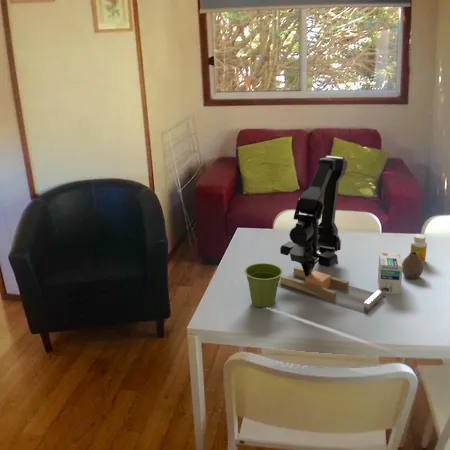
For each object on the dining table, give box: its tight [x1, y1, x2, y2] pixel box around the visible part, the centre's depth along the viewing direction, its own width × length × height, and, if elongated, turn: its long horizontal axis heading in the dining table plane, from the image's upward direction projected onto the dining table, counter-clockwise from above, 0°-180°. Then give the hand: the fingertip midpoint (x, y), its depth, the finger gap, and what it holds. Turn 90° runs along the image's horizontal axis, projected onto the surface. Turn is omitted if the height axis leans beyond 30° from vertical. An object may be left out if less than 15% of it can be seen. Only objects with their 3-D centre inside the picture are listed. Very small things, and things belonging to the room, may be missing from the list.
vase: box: [401, 252, 424, 280], centre depth 184 cm, size 7×7×9 cm
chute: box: [278, 266, 386, 315], centre depth 175 cm, size 14×33×3 cm, turn 52°
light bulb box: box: [377, 252, 403, 295], centre depth 176 cm, size 11×7×11 cm, turn 168°
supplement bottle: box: [409, 233, 428, 264], centre depth 196 cm, size 5×5×10 cm
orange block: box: [305, 270, 332, 288], centre depth 177 cm, size 6×6×4 cm
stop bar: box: [364, 289, 383, 311], centre depth 166 cm, size 10×2×2 cm, turn 142°
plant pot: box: [244, 262, 283, 309], centre depth 169 cm, size 12×12×11 cm
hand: (307, 277), depth 179 cm, fingers closed
